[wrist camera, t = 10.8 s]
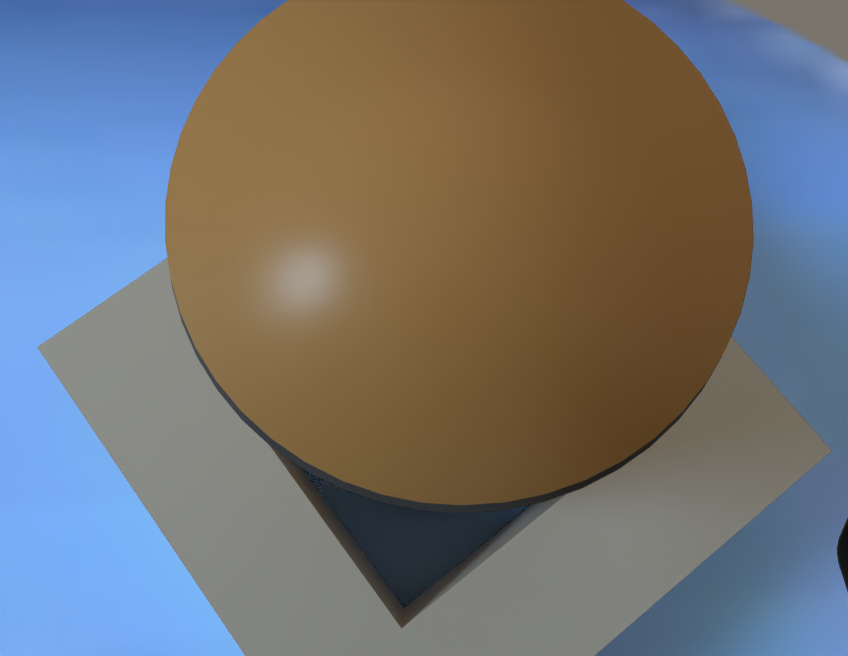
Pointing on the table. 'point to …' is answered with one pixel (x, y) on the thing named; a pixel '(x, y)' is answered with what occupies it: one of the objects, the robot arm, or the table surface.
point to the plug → (458, 242)
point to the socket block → (342, 557)
